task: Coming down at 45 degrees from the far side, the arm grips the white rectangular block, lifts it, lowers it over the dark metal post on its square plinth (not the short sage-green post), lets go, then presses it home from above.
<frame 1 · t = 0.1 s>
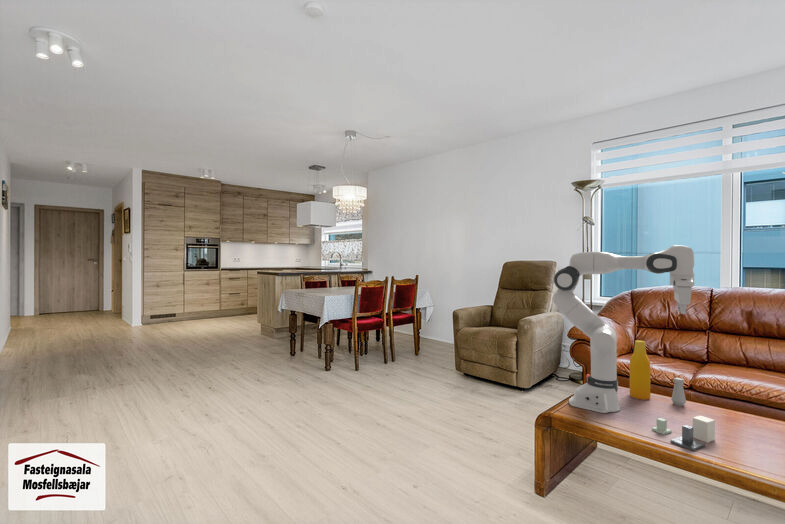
hand: (681, 312, 178), 48 cm above the table, tool pointing down, fingers open, 8 cm apart
beer bottle: (639, 397, 207), on the table
post: (687, 444, 155), on the table
white rectangular block: (703, 438, 160), on the table
salt shaker: (678, 405, 196), on the table
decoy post: (661, 431, 167), on the table
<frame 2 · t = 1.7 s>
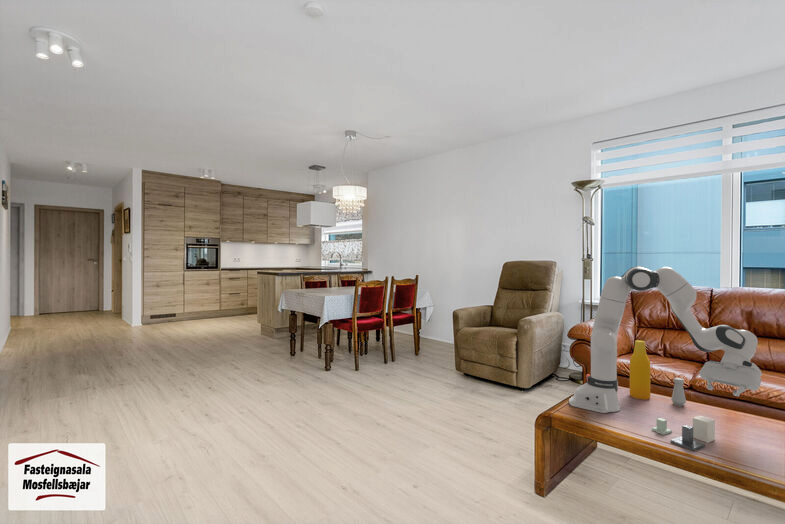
hand: (722, 392, 165), 17 cm above the table, tool tilted 45°, fingers open, 8 cm apart
nothing on the table moved.
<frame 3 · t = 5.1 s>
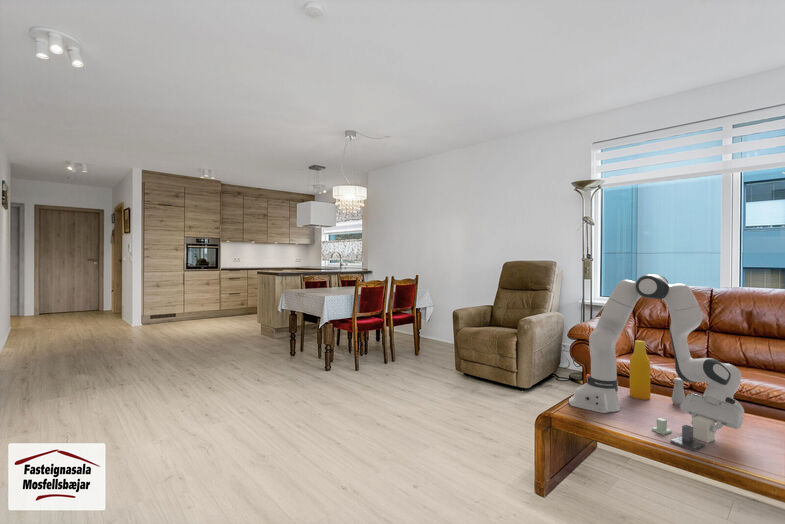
hand: (702, 428, 160), 4 cm above the table, tool tilted 45°, fingers closed on white rectangular block, 5 cm apart
white rectangular block: (703, 438, 160), on the table, touching gripper
everything else where it was.
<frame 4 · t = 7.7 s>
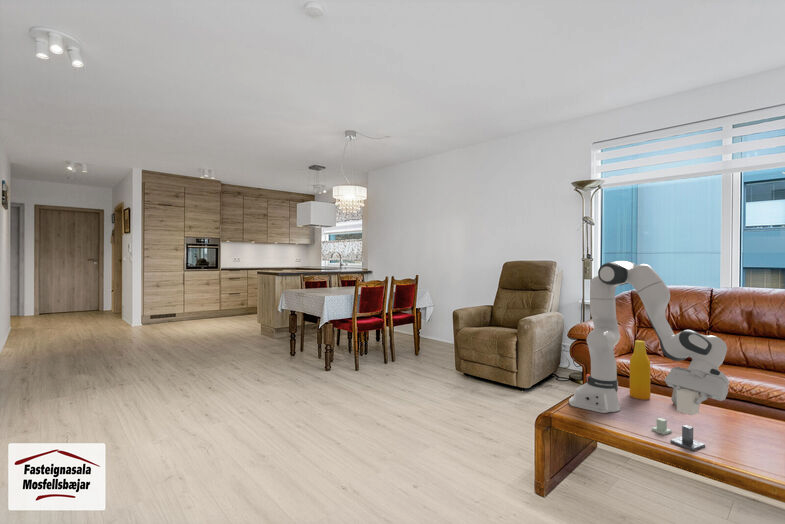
hand: (686, 400, 155), 17 cm above the table, tool tilted 45°, fingers closed on white rectangular block, 5 cm apart
white rectangular block: (687, 411, 155), point 13 cm above the table, touching gripper
everything else where it was.
when the fingers open (7 cm above the table, at t = 10.5 s): white rectangular block drops 1 cm, resting on post.
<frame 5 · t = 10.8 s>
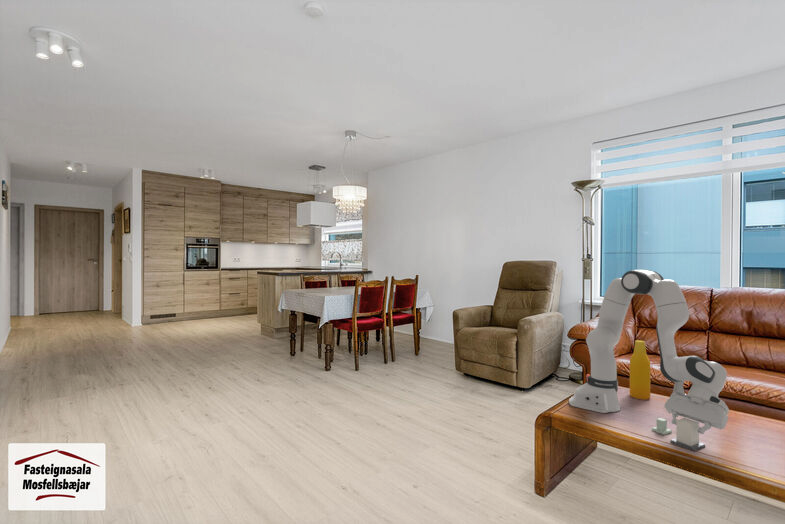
hand: (686, 428, 155), 7 cm above the table, tool tilted 45°, fingers open, 8 cm apart
white rectangular block: (687, 441, 155), point 1 cm above the table, touching post
everything else where it was.
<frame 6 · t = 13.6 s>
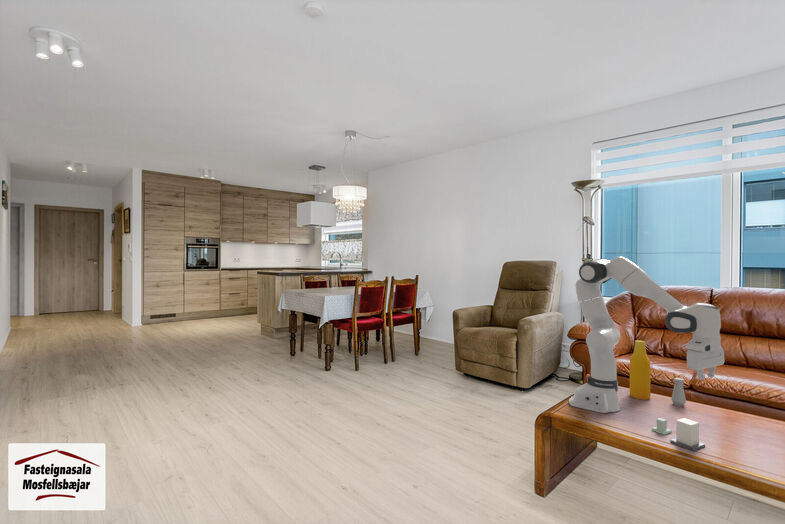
hand: (706, 378, 161), 24 cm above the table, tool pointing down, fingers open, 5 cm apart
nothing on the table moved.
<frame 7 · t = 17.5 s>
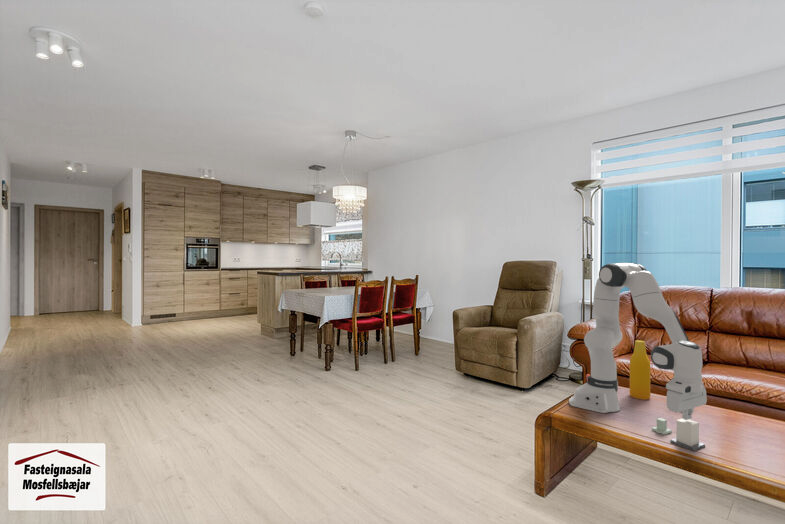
hand: (687, 418, 155), 10 cm above the table, tool pointing down, fingers closed
nothing on the table moved.
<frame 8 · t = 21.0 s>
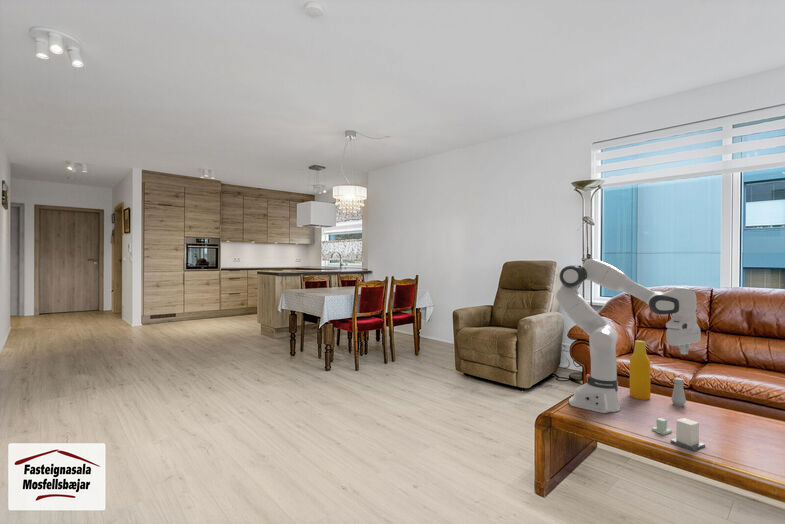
hand: (684, 353, 180), 29 cm above the table, tool pointing down, fingers closed
nothing on the table moved.
at the end: white rectangular block 0.0 cm from the post (horizontally); white rectangular block point 1.0 cm above the table; white rectangular block tilted 0° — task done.
